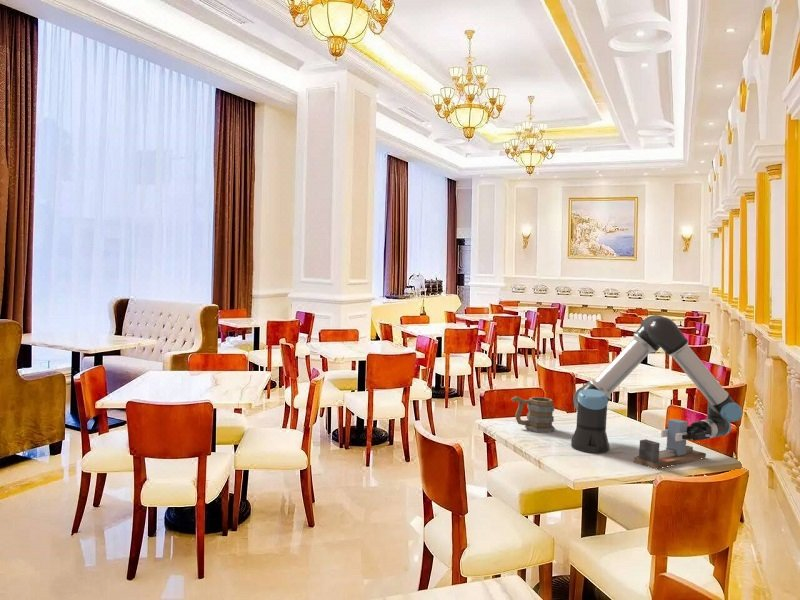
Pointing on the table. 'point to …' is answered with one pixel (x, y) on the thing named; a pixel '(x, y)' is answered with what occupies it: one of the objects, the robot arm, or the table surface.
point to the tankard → (536, 414)
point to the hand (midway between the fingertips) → (669, 435)
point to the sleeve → (673, 429)
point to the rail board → (678, 460)
